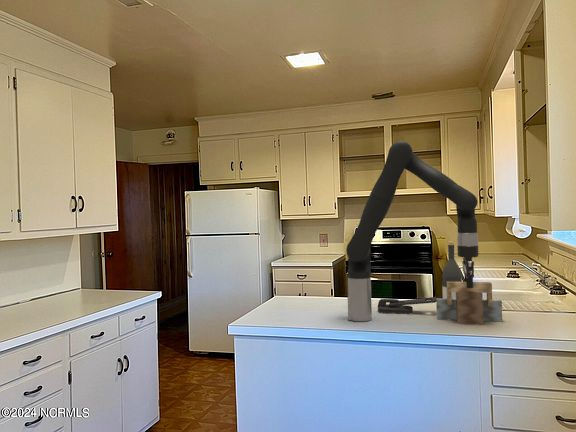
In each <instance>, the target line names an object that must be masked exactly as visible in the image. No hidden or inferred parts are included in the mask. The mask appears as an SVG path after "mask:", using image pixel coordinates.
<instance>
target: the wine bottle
mask: <svg viewBox="0 0 576 432" xmlns="http://www.w3.org/2000/svg"><path fill="white" fill-rule="evenodd" d="M447 250H448V251H447V252H448V259H447V261H446V263H445V265H444V267H443V270H442V275H441V282H442V285H441V286H442V299H447V281H450V282H463V275H462V271H461V269H460V265H458V263H457V261H456V259H455V243H454V241H450V240H449V241H448V244H447ZM451 296H452V299H456V292H451Z"/></svg>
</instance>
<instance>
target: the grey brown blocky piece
mask: <svg viewBox="0 0 576 432" xmlns="http://www.w3.org/2000/svg"><path fill="white" fill-rule="evenodd" d="M435 303H436V320H445V319H454V320H453V321H457V325H475V324H480V325H479V326H483V325H484V322H496V321H502V322H503V300H501V299H492V306H488V305H487V299H484V297H483V293H475V292H456V299H452V305H448V304H447V299H443V298H441V297H439V298H438V297H436V302H435Z"/></svg>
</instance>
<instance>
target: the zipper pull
mask: <svg viewBox="0 0 576 432" xmlns="http://www.w3.org/2000/svg"><path fill="white" fill-rule="evenodd" d="M436 298H437V297H436V296H430V297H422V298H414V299H413V298H412V299H403V300H399V299H396V298H395V299H394V298H381V299H379V301H378V303H377V312H378V313H380V314H385V315H386V314H390V315H391V314H392V315H393V314H394V315H410V313H411V314H413V313H414V309H413V306H412V305H424V304H434V303H436Z"/></svg>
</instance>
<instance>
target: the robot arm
mask: <svg viewBox="0 0 576 432" xmlns="http://www.w3.org/2000/svg"><path fill="white" fill-rule="evenodd" d="M404 170H406V171H408V172H409V173H411V174H413V175H415V176H416V177H417V178H419V179H420V180H421V181H422V182H423V183H425V184H426V185H427V186H429V187H430V188H431V189H433V190H434V191H435V192H437V193H438V194H439V195H441V196H442V197H443V198H446V199H448V200H449V201H451V202H452V203H453V204H454V205H455V206H456V207H455V208H456V210H455V211H456V216H457V217H456V218H457V238H456V241H457V244H456V246H457V250H456V251H457V257H459V258H462V259H463V260H462V261H461V262H462V271H463V275H464V282H467V288H473V282H474V277H475V275H474V274H475V261H473V258H477V257H479V237H478V235H479V234H478V222H477V218H476V207H477V206H478V202H479V201H478V198H477V197H476V194H474V193H472V192H471V191H469V190H468V189H466V188H464V187H462V186H461V185H459V184H458V183H456V182H455V181H454V180H453V179H451V178H450V177H449V176H447V175H446V174H444V173H443V172H442V171H440V170H438V169H436V168H435V167H433V166H431V165H429V164H428V163H426V162H424V161H423V159H421V158H419V156H418V155H417V154H415V152H414V151H413V148H412V146H411V145H410V144H409V143H408V142H407V141H403V140H399V141H395V142H394V143H393V144H391V145H390V147H389V150H388V153H387V156H386V160H385V162H384V166H383V168H382V171H381V173H380V175H379V176H378V179H377V180H376V182H375V183H374V185H373V188H372V189H371V192H370V193H369V196H368V198H367V200H366V203H365V204H364V205H365V206H364V208H363V210H362V212H361V213H362V214H361V217H360V220H359V223H358V226H357V227H356V230H355V231H354V233H353V235H352V237H351V239H350V240H349V242H348V243H347V245H346V249H345V251H346V255H347V257H348V261H347V262H348V266H347V267H348V268H347V285H348V287H347V288H348V293H347V294H348V296H347V319H348V321H353V322H361V323H362V322H369V321H371V320H373V318H372V317H373V313H372V311H373V310H372V309H373V308H372V279H371V274H372V273H371V272H372V270H371V269H372V263H371V262H372V260H371V259H372V257H371V253H372V252H371V245H372V243H373V240H374V238H375V235H376V232H377V230H378V229H379V227H380V226H381V224H382V223H383V221H384V219H385V217H386V216H387V214H388V211H389V209H390V208H391V205H392V203H393V200H394V198H395V194H396V192H397V188H398V184H399V181H400V178H401V177H402V174H403V173H404Z"/></svg>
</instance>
